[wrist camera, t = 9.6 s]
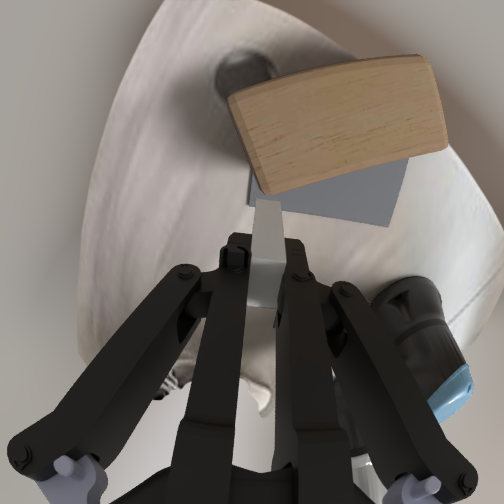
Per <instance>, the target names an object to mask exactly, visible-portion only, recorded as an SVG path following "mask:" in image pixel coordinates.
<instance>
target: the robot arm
mask: <svg viewBox="0 0 504 504" xmlns="http://www.w3.org/2000/svg"><path fill="white" fill-rule="evenodd" d="M277 305H278V309H277V313H276V317H275V321H274V325H273V328H275V327H276V403H275V451H274V455H273V459H272V467H271V468H272V469H271V472H266V473H257V472H254V471H250V470H247V469H244V468H241V467H237V466H234V465H232V458H233V447H234V436H235V419H236V409H237V399H238V387H239V378H240V368H241V357H242V347H243V337H244V326H245V316H246V306H253V307H262V308H272V309H276V306H277ZM206 317H207V318H206ZM201 318H206V322H205V326H204V330H203V334H202V339H201V343H200V347H199V352H198V356H197V361H196V365H195V369H194V374H193V378H192V383H191V388H190V392H189V397H188V402H187V407H186V411H185V415H184V418H183V419H182V420H181V422H180V424H179V427H178V431H177V436H176V441H175V446H174V451H173V456H172V461H171V466H170V467H167V468H164V469H162V470H160V471H158V472H156V473H155V474H154V475H152V476H151V477H149V478H148V479H146V480H145V481H144V482H142V483H141V484H139V485H138V486H136V487H135V488H133V489H132V490H130V491H129V492H127V493H126V494H124V495H123V496H121V497H119V498H118V499H116V500H114V501H113V502H111V503H110V504H452V503H455V502H457V501H460V500H463V499H465V498H467V497H469V496H471V494H472V493H473V492H474V491H475V489H476V486H477V483H478V474H477V471H476V469H475V468H474V466H473V465H472V464H471V463H470V462H469V461H468V460H467V459H466V458H465V457H464V456H463V455H462V454H461V453H460V452H459V451H458V450H457V449H456V448H455V447H454V446H453V445H452V444H451V443H450V442H449V441H448V440H447V439H446V437H445V435H444V433H443V431H442V429H441V427H440V425H439V424H440V423H441V422H443V421H444V420H446V419H447V418H449V417H450V416H451V415H453V414H454V413H455V412H456V411H457V410H459V409H460V408H461V407H462V406H463V405H464V404H465V403H466V402H467V400H468V399H469V398H470V396H471V394H472V392H473V387H474V384H473V380H472V377H471V374H470V372H469V365H468V364H467V363H466V361H465V359H464V357H463V355H462V353H461V351H460V349H459V347H458V345H457V343H456V341H455V339H454V337H453V335H452V333H451V331H450V329H449V327H448V326H447V324H446V322H445V318H444V313H443V309H442V300H441V295H440V293H439V291H438V289H437V288H436V286H435V285H434V283H433V282H432V281H431V280H429V279H427V278H424V277H410V278H406V279H403V280H400V281H398V282H396V283H394V284H392V285H391V286H389V287H388V288H386V289H385V290H384V291H383V292H382V293H380V294H379V295H378V297H377V298H376V299H375V300H374V301H373V303H372V304H371V306H369V304H368V303H367V301H366V300H365V298H364V297H363V295H362V294H361V292H360V291H359V289H358V288H357V287H356V286H354V285H353V284H351V283H349V282H346V281H338V282H335V283H334V284H333V285H332V287H329V286H326V285H323V284H321V283H319V282H317V281H316V279H315V276H314V274H313V273H312V272H310V271H309V267H308V262H307V257H306V252H305V247H304V244H303V243H302V242H301V241H300V240H298V239H290V238H284V230H283V220H282V211H281V202H279V201H272V200H264V199H256V207H255V215H254V223H253V231H252V234H245V233H236V232H234V233H232V234H231V235H230V236H229V238H228V242H227V245H225V246H224V247H222V248H221V250H220V259H219V268H218V269H216V270H213V271H210V272H201V271H200V269H199V268H198V267H197V266H194V265H192V264H180V265H177V266H175V267H173V268H172V269H171V270H170V271H169V272H168V273H167V274H166V276H165V277H164V278H163V279H162V280H161V281H160V282H159V283H158V284H157V285H156V287H155V288H154V289H153V290H152V291H151V292H150V293H149V294H148V296H147V297H146V298H145V299H144V300H143V301H142V302H141V303H140V305H139V306H138V307H137V308H136V309H135V310H134V312H133V313H132V314H131V315H130V316H129V317H128V318H127V320H126V321H125V322H124V323H123V324H122V325H121V327H120V328H119V329H118V330H117V331H116V333H115V334H114V335H113V336H112V337H111V339H110V340H109V341H108V342H107V343H106V345H105V346H104V347H103V348H102V349H101V351H100V352H99V353H98V354H97V355H96V357H95V358H94V359H93V360H92V362H91V363H90V364H89V365H88V367H87V368H86V369H85V371H84V372H83V373H82V374H81V376H80V377H79V378H78V379H77V381H76V382H75V383H74V385H73V386H72V387H71V388H70V390H69V391H68V392H67V394H66V395H65V396H64V398H63V399H62V400H61V402H60V403H59V404H58V406H57V407H56V408H55V410H54V411H53V412H51V413H50V414H48V415H47V416H45V417H44V418H42V419H40V420H39V421H37V422H36V423H35V424H33V425H31V426H30V427H28V428H26V429H25V430H23V431H22V432H20V433H19V434H17V435H16V436H14V437H13V438H12V439H11V440H10V441H9V444H8V447H7V456H8V458H9V462H10V464H11V465H12V466H13V468H14V469H15V470H16V471H17V472H19V473H20V474H22V475H24V476H26V477H29V478H31V479H33V480H34V481H35V482H36V483H37V484H38V486H39V488H40V489H41V491H42V492H43V494H44V495H45V497H46V498H47V500H48V501H49V502H50V504H100V498H101V495H102V494H103V493H104V491H105V490H106V488H107V485H108V478H107V475H106V472H105V471H104V470H105V469H106V468H107V467H108V466H109V465H110V464H111V463H112V462H113V461H114V460H115V459H116V457H117V456H118V455H119V453H120V452H121V450H122V449H123V447H124V446H125V444H126V442H127V440H128V439H129V437H130V436H131V434H132V432H133V431H134V429H135V427H136V426H137V424H138V422H139V421H140V419H141V417H142V416H143V414H144V413H145V411H146V409H147V408H148V406H149V404H150V403H151V401H152V399H153V398H154V396H155V395H156V393H157V391H158V390H159V388H160V386H161V385H162V383H163V381H164V380H165V378H166V377H167V375H168V373H169V372H170V370H171V368H172V367H173V365H174V364H175V362H176V360H177V359H178V357H179V355H180V354H181V352H182V351H183V349H184V347H185V346H186V344H187V342H188V341H189V339H190V338H191V336H192V334H193V333H194V331H195V330H196V328H197V326H198V325H199V323H200V321H201ZM331 367H332V368H331ZM332 369H333V371H334V373H335V376H334V377H333V375H332Z"/></svg>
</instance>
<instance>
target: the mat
mask: <svg viewBox="0 0 504 504" xmlns="http://www.w3.org/2000/svg"><path fill="white" fill-rule="evenodd" d="M408 159H409V158H406V159H402V160H397V161H393V162H389V163H385V164H381V165H377V166H374V167H370V168H366V169H362V170H358V171H355V172H351V173H347V174H344V175H340V176H337V177H333V178H329V179H326V180H322V181H319V182H316V183H312V184H309V185H305V186H302V187H299V188H296V189H292V190H289V191H286V192H283V193H279V194H276V195H264V194H263V193H262V191H261V190H260V189H259V187H258V185H257V182H256V179H255V177H254V174H253V175H252V184H251V192H250V201H249V206H250V207H256V199H264V200H272V201H279V202H281V210H282V211H289V212H296V213H303V214H310V215H317V216H323V217H330V218H336V219H342V220H348V221H354V222H360V223H366V224H372V225H377V226H383V227H388V226H389V223H390V220H391V217H392V214H393V211H394V208H395V205H396V202H397V199H398V195H399V192H400V189H401V185H402V182H403V178H404V175H405V171H406V167H407V163H408Z"/></svg>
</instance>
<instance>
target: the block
mask: <svg viewBox="0 0 504 504" xmlns="http://www.w3.org/2000/svg"><path fill="white" fill-rule="evenodd" d="M227 108H228V111H229V113H230V116H231V118H232V120H233V123H234V125H235V128H236V131H237V133H238V136H239V138H240V141H241V143H242V146H243V148H244V151H245V153H246V156H247V159H248V161H249V164H250V166H251V169H252V172H253V174H254V177H255V179H256V182H257V185H258V187H259V189H260V190H261V191H262V193H263V194H264V195H276V194H279V193H283V192H286V191H289V190H292V189H296V188H299V187H302V186H305V185H309V184H312V183H316V182H319V181H322V180H326V179H329V178H333V177H337V176H340V175H344V174H347V173H351V172H355V171H358V170H362V169H366V168H370V167H374V166H377V165H381V164H385V163H389V162H393V161H397V160H402V159H406V158H410V157H414V156H419V155H423V154H427V153H432V152H436V151H441V150H443V149H445V148H446V147H448V136H447V130H446V124H445V120H444V114H443V109H442V106H441V101H440V96H439V92H438V89H437V85H436V81H435V78H434V74H433V71H432V68H431V65H430V62H429V61H428V59H427V58H426V57H423V56H420V55H418V54H413V55H396V56H385V57H376V58H368V59H360V60H354V61H348V62H342V63H336V64H331V65H326V66H321V67H317V68H312V69H308V70H304V71H300V72H296V73H292V74H289V75H285V76H281V77H278V78H274V79H271V80H268V81H265V82H261V83H258V84H255V85H252V86H249V87H246V88H244V89H241V90H238V91H235V92H233V93H232V94H231V95H230V96H229V97H228V98H227Z"/></svg>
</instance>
